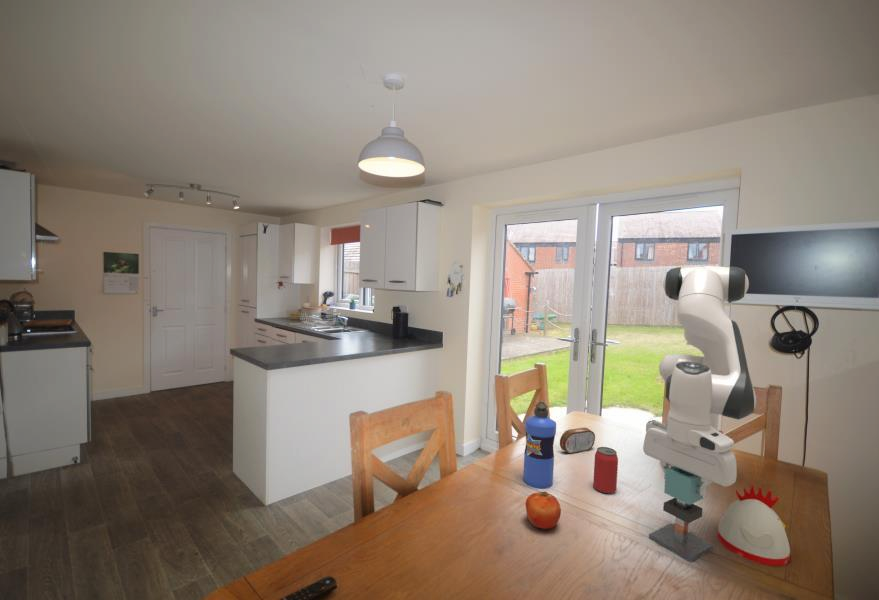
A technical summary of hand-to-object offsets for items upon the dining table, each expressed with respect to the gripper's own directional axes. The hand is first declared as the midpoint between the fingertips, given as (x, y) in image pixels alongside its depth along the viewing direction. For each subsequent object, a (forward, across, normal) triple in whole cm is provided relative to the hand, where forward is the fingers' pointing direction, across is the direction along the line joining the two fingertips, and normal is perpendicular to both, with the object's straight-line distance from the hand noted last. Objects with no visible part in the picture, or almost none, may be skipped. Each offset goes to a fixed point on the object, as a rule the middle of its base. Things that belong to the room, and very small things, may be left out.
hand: (684, 487), depth 99 cm
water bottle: (+14, -39, -9) cm, 43 cm away
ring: (+6, 0, 0) cm, 6 cm away
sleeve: (+2, 0, 0) cm, 2 cm away
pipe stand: (+14, 0, 0) cm, 14 cm away
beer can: (+14, -26, +6) cm, 30 cm away
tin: (+14, -49, +21) cm, 55 cm away
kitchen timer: (+14, +9, +15) cm, 23 cm away
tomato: (+14, -22, -24) cm, 36 cm away
